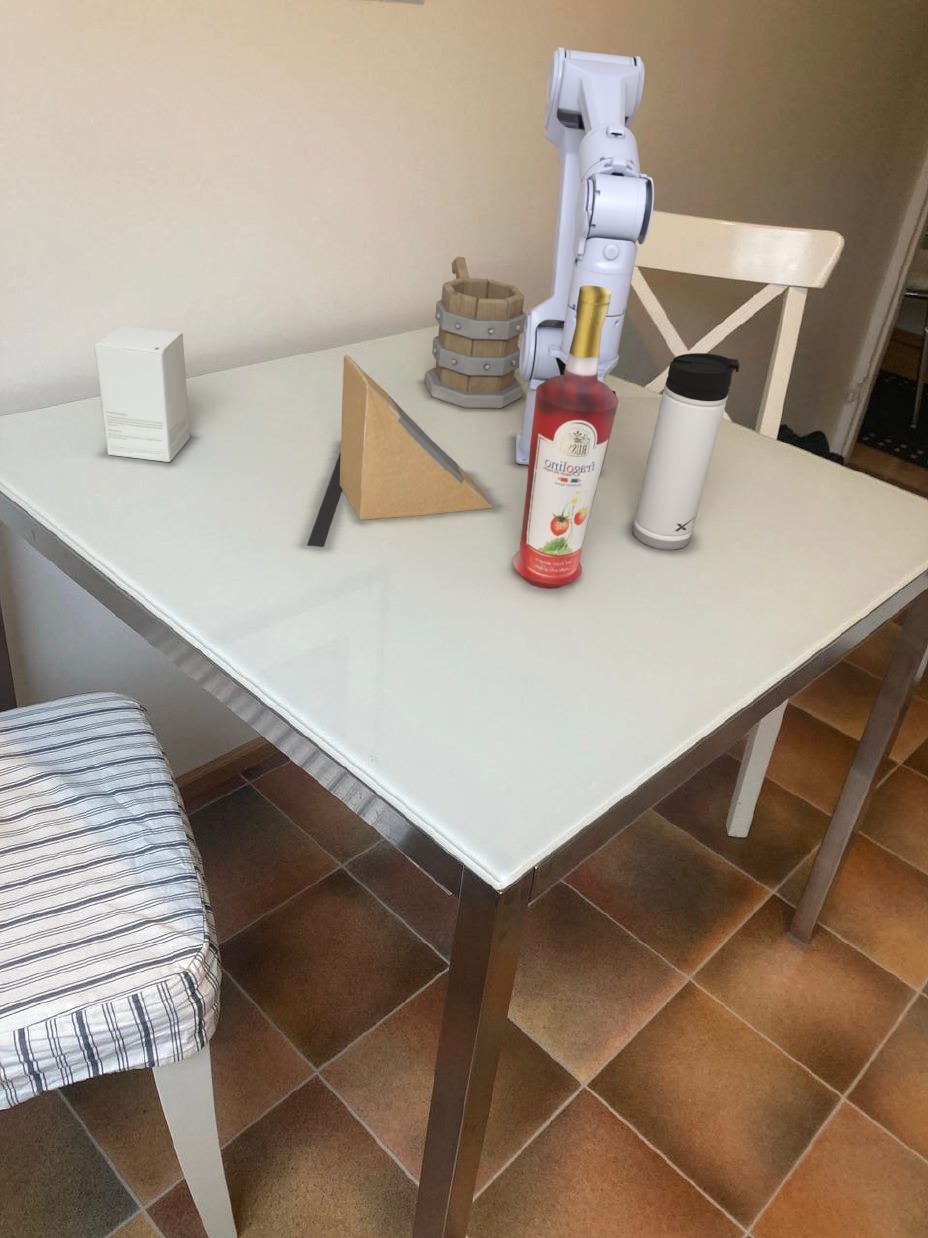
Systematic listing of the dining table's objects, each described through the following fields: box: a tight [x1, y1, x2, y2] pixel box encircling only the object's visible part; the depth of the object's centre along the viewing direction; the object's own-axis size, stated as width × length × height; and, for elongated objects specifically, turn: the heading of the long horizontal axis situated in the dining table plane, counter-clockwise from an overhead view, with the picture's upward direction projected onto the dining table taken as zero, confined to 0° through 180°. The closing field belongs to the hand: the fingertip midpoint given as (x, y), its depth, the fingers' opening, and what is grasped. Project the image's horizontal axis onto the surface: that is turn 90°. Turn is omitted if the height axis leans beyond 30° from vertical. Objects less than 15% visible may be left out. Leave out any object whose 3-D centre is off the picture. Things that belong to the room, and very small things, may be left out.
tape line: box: [307, 450, 343, 548], centre depth 108 cm, size 2×24×1 cm, turn 178°
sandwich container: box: [340, 354, 493, 521], centre depth 105 cm, size 9×15×15 cm, turn 111°
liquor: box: [512, 286, 619, 589], centre depth 90 cm, size 7×7×28 cm
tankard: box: [424, 256, 528, 409], centre depth 135 cm, size 20×13×15 cm, turn 13°
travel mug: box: [631, 352, 740, 551], centre depth 101 cm, size 6×7×20 cm
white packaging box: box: [93, 324, 191, 463], centre depth 109 cm, size 7×7×13 cm
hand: (573, 436), depth 104 cm, fingers open, 7 cm apart
